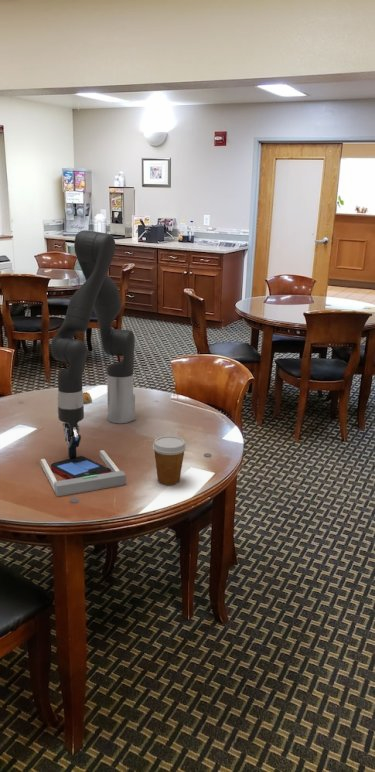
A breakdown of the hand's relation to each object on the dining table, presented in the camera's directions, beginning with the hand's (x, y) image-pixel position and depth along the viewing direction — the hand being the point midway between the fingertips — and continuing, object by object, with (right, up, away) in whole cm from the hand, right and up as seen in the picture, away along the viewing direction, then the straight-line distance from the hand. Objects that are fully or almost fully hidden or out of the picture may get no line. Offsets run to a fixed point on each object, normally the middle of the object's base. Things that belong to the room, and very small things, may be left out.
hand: (72, 457), depth 182 cm
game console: (+3, -4, -6) cm, 8 cm away
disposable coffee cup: (+30, -5, -11) cm, 32 cm away
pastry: (-7, +15, +52) cm, 54 cm away
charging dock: (+4, -4, -9) cm, 11 cm away
